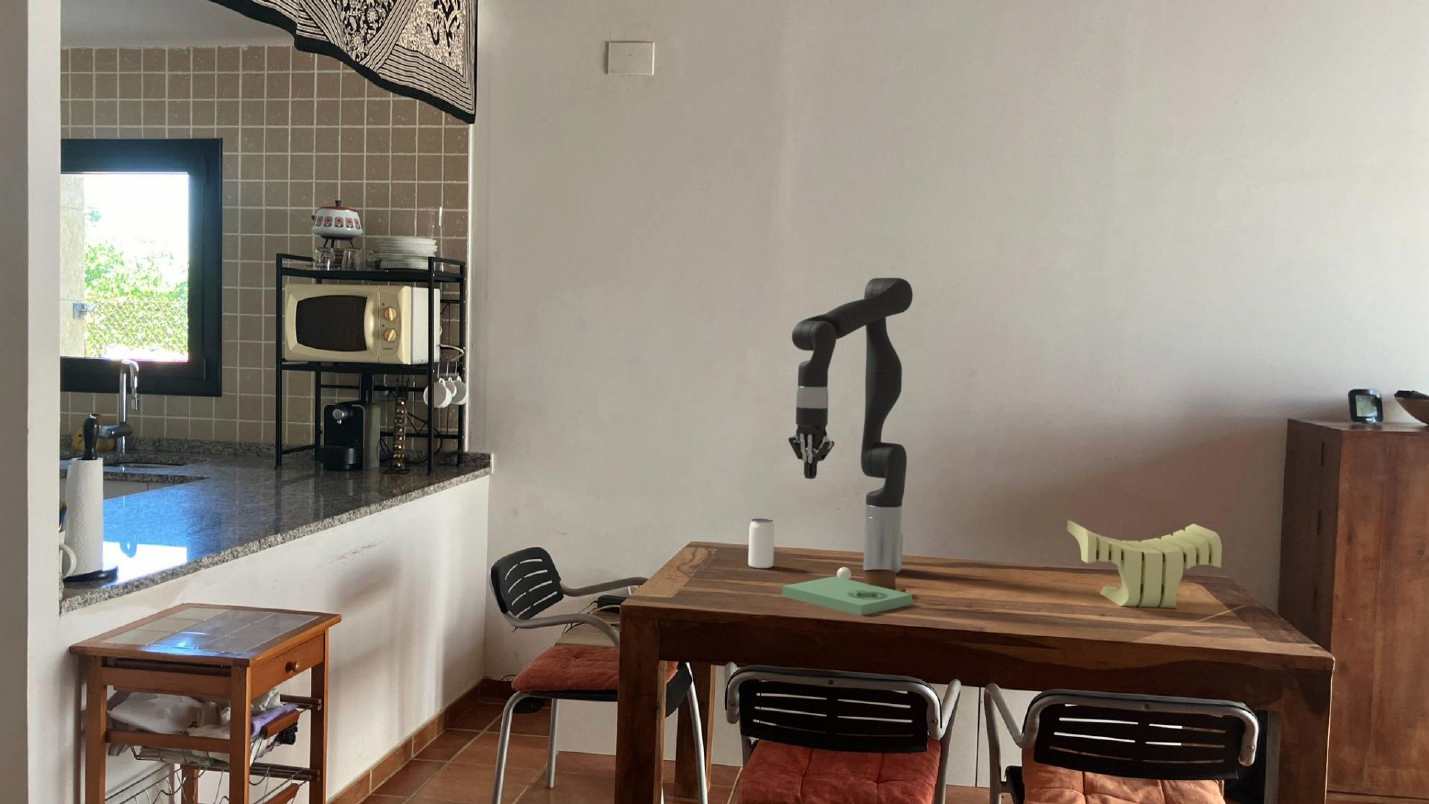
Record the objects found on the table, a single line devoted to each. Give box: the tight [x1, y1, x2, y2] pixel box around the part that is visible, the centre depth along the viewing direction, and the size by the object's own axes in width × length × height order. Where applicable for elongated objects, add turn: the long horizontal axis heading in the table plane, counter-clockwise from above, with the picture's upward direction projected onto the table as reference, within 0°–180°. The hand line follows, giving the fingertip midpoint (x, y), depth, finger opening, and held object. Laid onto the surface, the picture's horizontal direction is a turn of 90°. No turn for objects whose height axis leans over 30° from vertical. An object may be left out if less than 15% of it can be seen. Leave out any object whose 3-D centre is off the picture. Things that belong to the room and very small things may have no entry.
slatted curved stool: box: [1066, 519, 1223, 609], centre depth 260 cm, size 30×16×18 cm, turn 89°
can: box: [747, 518, 775, 569], centre depth 289 cm, size 6×6×12 cm
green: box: [781, 576, 914, 617], centre depth 252 cm, size 23×18×2 cm
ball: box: [836, 566, 852, 580], centre depth 273 cm, size 4×4×4 cm
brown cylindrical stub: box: [863, 569, 906, 593], centre depth 261 cm, size 12×12×6 cm
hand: (810, 478), depth 265 cm, fingers closed
